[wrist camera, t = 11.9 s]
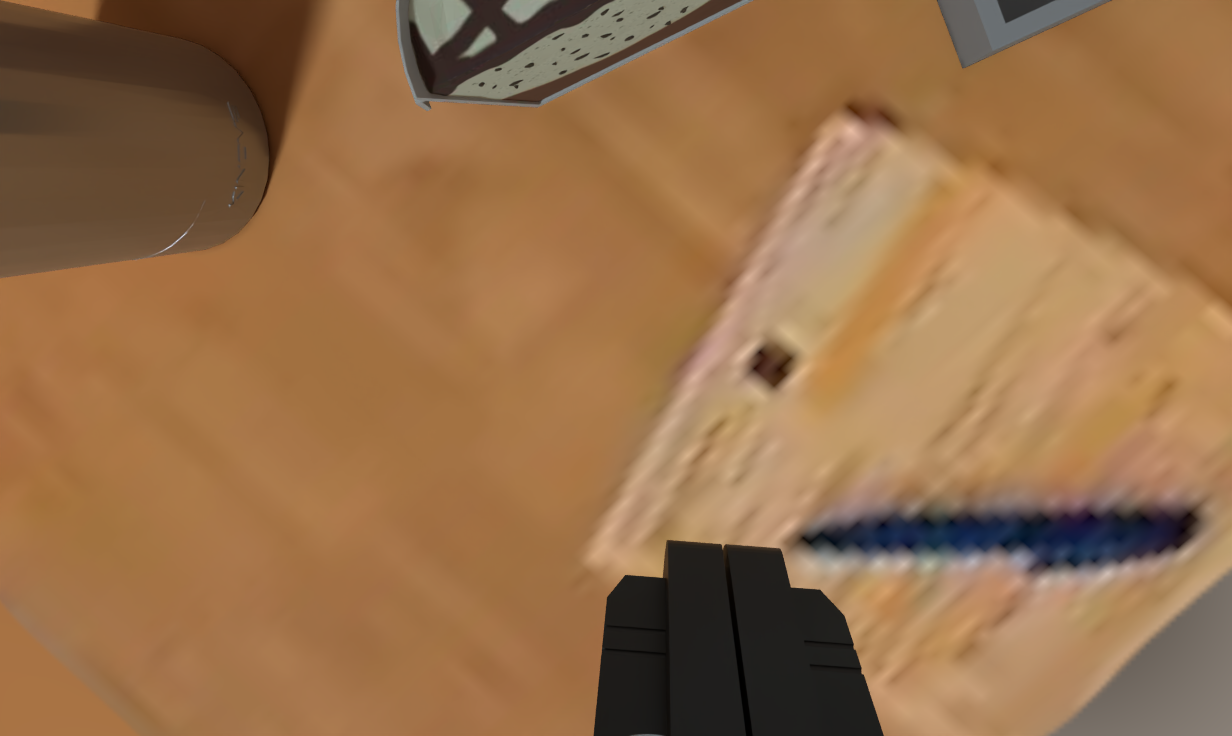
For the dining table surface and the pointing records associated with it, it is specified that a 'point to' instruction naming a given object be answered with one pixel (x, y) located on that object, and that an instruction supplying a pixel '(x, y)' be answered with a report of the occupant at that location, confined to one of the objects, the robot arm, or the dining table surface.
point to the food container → (533, 44)
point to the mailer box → (1004, 22)
